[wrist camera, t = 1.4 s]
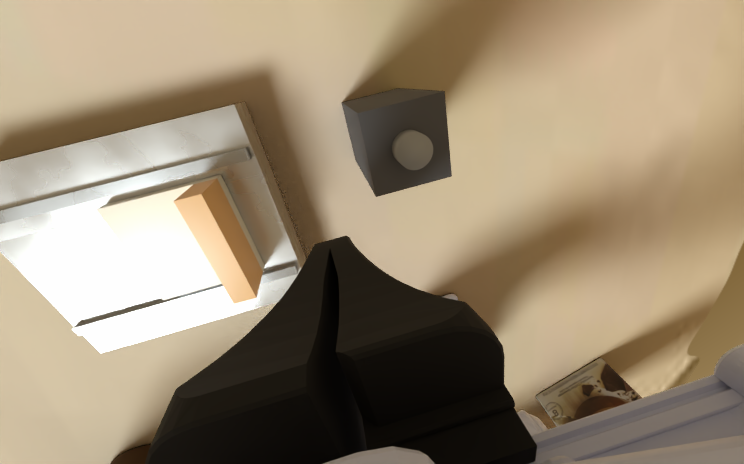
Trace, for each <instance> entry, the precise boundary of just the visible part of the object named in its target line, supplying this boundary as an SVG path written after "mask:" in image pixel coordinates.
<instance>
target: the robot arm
mask: <svg viewBox="0 0 744 464" xmlns="http://www.w3.org/2000/svg"><path fill="white" fill-rule="evenodd" d="M514 407H515V403H514V400H513V398H512V396H511V395H510V393H509V391H508V390H507V388H506V387H505V385H504V352H503V347H502V344H501V343H500V341H499V340H498V338H497V337H496V335H495V334H494V332H493V331H492V330H491V328H490V327H489V326H488V325H487V324H486V323H485V322H484V321H483V319H482V318H481V317H480V316H479V315H478V314H477V313H476V312H475V311H474V310H473V309H472V308H471V307H470V306H469V305H468V304H467V303H465V302H462V301H458V298H457V296H456V295H455V294H449V295H446V296H442V297H440V296H436V295H433V294H430V293H427V292H424V291H421V290H418V289H415V288H413V287H411V286H409V285H406V284H404V283H402V282H400V281H398V280H396V279H395V278H393V277H391V276H390V275H388V274H386V273H385V272H383V271H382V270H381V269H379V268H378V267H377V266H375V265H374V264H373V263H372V262H370V261H369V260H368V259H367V258H366V257H365V256H364V255H363V254H362V253H361V252H360V251H359V250H358V249H357V248H356V247H355V246H354V244H353V243H352V241H351V240H350V238H349V237H348V236H343V237H340V238H336V239H333V240H329V241H325V242H322V243H318V244H315V245H314V247H313V249H312V250H311V252H310V254H309V256H308V258H307V260H306V261H305V263H304V265H303V267H302V268H301V270H300V272H299V274H298V275H297V277H296V278H295V280H294V281H293V283H292V284H291V286H290V287H289V289H288V290H287V291H286V293H285V294H284V295H283V297H282V298H281V299H280V300H279V302H278V303H277V304H276V305H275V306H274V307H273V309H272V310H271V311H270V312H269V313H268V314H267V315H266V316H265V317H264V318H263V319H262V320H261V321H260V322H259V323H258V324H257V325H256V326H255V327H254V328H253V329H252V330H251V331H250V332H249V333H248V334H247V335H246V336H245V337H244V338H242V339H241V340H240V341H239V342H238V343H237V344H236V345H234V346H233V347H232V348H231V349H230V350H228V351H227V352H226V353H225V354H223V355H222V356H221V357H220V358H218V359H217V360H216V361H214V362H213V363H212V364H210V365H209V366H208V367H206V368H205V369H204V370H202V371H201V372H199V373H198V374H197V375H195V376H194V377H192V378H191V379H190V380H188V381H187V382H185V383H184V384H183V385H181V386H180V387H178V388H177V389H176V391H175V393H174V395H173V397H172V399H171V401H170V404H169V406H168V408H167V410H166V413H165V415H164V417H163V419H162V421H161V424H160V426H159V428H158V430H157V433H156V435H155V437H154V439H153V442H152V444H151V446H150V448H149V451H148V454H147V458H146V461H145V464H744V344H742V345H739V346H736V347H734V348H732V349H730V350H729V351H728V352H726V353H725V354H724V355H723V356H722V357H721V358H720V359H719V361H718V363H717V364H716V367H715V369H714V375H711V376H708V377H705V378H702V379H699V380H696V381H693V382H690V383H687V384H684V385H681V386H678V387H675V388H672V389H669V390H666V391H663V392H660V393H657V394H654V395H651V396H647V397H644V398H641V399H638V400H635V401H632V402H629V403H626V404H623V405H620V406H617V407H614V408H611V409H608V410H605V411H602V412H599V413H596V414H593V415H590V416H587V417H584V418H581V419H578V420H575V421H572V422H569V423H566V424H563V425H560V426H557V427H554V428H551V429H547V427H546V426H545V425H544V424H543V422H542V421H541V420H540V419H539V418H538V417H536V416H533V415H531V414H528V413H527V412H526V411H524V410H521V411H519V412H516V411H515V409H514Z"/></svg>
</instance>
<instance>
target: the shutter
mask: <svg viewBox="0 0 744 464" xmlns="http://www.w3.org/2000/svg"><path fill="white" fill-rule="evenodd" d="M96 210H97V212H98V213H99V214H100V216H101V217H102V218H103V220H104V221H105V222H106V224H107V225H108V226H109V228H110V229H111V231H112V232H113V233H114V235H115V236H116V237H117V239H118V240H119V241H120V243H121V244H122V245H123V247H124V248H125V249H126V251H127V252H128V254H129V255H130V256H131V258H132V259H133V260H134V262H135V263H136V264H137V266H138V267H139V268H140V270H141V271H142V272H143V274H144V275H145V277H146V278H147V279H148V281H149V282H150V283H151V285H152V286H153V287H154V289H155V290H156V291H157V293H158V294H159V296H160V297H161V298H162V300H166V299H169V298H173V297H177V296H180V295H184V294H187V293H191V292H194V291H198V290H201V289H205V288H209V287H212V286H216V285H219V284H222V285H223V286H224V288H225V290H226V292H227V293H228V295H229V297H230V298H231V300H232V302H233V303H234V304H237V303H240V302H244V301H247V300H251V299H254V298H257V294H258V290H259V286H260V282H261V278H262V275H263V271H264V267H265V265H264V263H263V261H262V259H261V257H260V255H259V253H258V251H257V248H256V246H255V244H254V242H253V240H252V238H251V236H250V234H249V232H248V230H247V228H246V226H245V223H244V221H243V219H242V217H241V215H240V213H239V211H238V209H237V207H236V205H235V203H234V201H233V198H232V196H231V194H230V192H229V190H228V188H227V186H226V184H225V182H224V180H223V178H222V176H221V175H217V176H213V177H209V178H205V179H201V180H198V181H194V182H190V183H186V184H182V185H178V186H174V187H171V188H167V189H163V190H159V191H155V192H151V193H147V194H143V195H140V196H136V197H132V198H128V199H124V200H120V201H116V202H112V203H109V204H105V205H103V206H101V207H100V208H98V209H96Z"/></svg>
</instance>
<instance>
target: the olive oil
mask: <svg viewBox="0 0 744 464" xmlns="http://www.w3.org/2000/svg"><path fill="white" fill-rule="evenodd" d="M150 446H151V445H145V446H141V447H137V448H134V449H131V450H129V451H127V452H125V453H123V454H121V455H119V456H118V457H117V458H115V459H114V460H113V461H112V462H111V464H145V461H146V458H147V454H148V451H149V448H150Z"/></svg>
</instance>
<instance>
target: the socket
mask: <svg viewBox="0 0 744 464" xmlns="http://www.w3.org/2000/svg"><path fill="white" fill-rule="evenodd" d="M217 175H221V176H222V178H223V180H224V182H225V184H226V186H227V188H228V190H229V192H230V194H231V196H232V198H233V201H234V203H235V205H236V207H237V209H238V211H239V213H240V215H241V217H242V219H243V221H244V223H245V226H246V228H247V230H248V232H249V234H250V236H251V238H252V240H253V242H254V244H255V246H256V248H257V251H258V253H259V255H260V257H261V259H262V261H263V263H264V265H265V267H264V271H263V275H262V278H261V282H260V286H259V290H258V294H257V298H254V299H251V300H247V301H244V302H240V303H237V304H234V303H233V302H232V300H231V298H230V297H229V295H228V293H227V292H226V290H225V288H224V286H223V285H222V284H219V285H216V286H212V287H209V288H205V289H201V290H198V291H194V292H191V293H187V294H184V295H180V296H177V297H173V298H169V299H166V300H162V298H161V297H160V296H159V294H158V293H157V291H156V290H155V289H154V287H153V286H152V285H151V283H150V282H149V281H148V279H147V278H146V277H145V275H144V274H143V272H142V271H141V270H140V268H139V267H138V266H137V264H136V263H135V262H134V260H133V259H132V258H131V256H130V255H129V254H128V252H127V251H126V249H125V248H124V247H123V245H122V244H121V243H120V241H119V240H118V239H117V237H116V236H115V235H114V233H113V232H112V231H111V229H110V228H109V226H108V225H107V224H106V222H105V221H104V220H103V218H102V217H101V216H100V214H99V213H98V212H97V210H96V209H98V208H100V207H101V206H103V205H105V204H109V203H112V202H116V201H120V200H124V199H128V198H132V197H136V196H140V195H143V194H147V193H151V192H155V191H159V190H163V189H167V188H171V187H174V186H178V185H182V184H186V183H190V182H194V181H198V180H201V179H205V178H209V177H213V176H217ZM0 252H1V253H2V254H3V255H4V256H5V257H6V258H7V259H8V260H9V261H10V262H11V263H12V264H13V265H14V266H15V267H16V268H17V269H18V270H19V271H20V272H21V273H22V274H23V275H24V276H25V277H26V278H27V279H28V280H29V281H30V282H31V283H32V284H33V285H34V286H35V287H36V288H37V289H38V290H39V291H40V292H41V293H42V294H43V295H44V296H45V297H46V298H47V299H48V300H49V301H50V302H51V303H52V304H53V305H54V306H55V307H56V308H57V309H58V310H59V311H60V312H61V314H62V315H63V316H64V317H65V318H66V319H67V320H68V321H69V322H70V323H71V324H72V325H73V326H74V327H73V328H72V330H73V331H74V332H75V333H76V334H77V335H78V336H80V335H83V336H84V337H85V338H86V339H87V340H88V341H89V342H90V343H91V344H92V345H93V346H94V347H95V348H96V349H97V350H98V351H99V352H100V353H103V352H107V351H110V350H114V349H117V348H121V347H124V346H128V345H131V344H134V343H138V342H141V341H145V340H148V339H152V338H155V337H159V336H162V335H166V334H169V333H173V332H176V331H180V330H183V329H187V328H190V327H194V326H197V325H201V324H204V323H207V322H211V321H214V320H218V319H221V318H225V317H228V316H232V315H235V314H239V313H242V312H246V311H249V310H253V309H256V308H260V307H263V306H267V305H270V304H273V303H277V302H279V300H280V299H281V298H282V297H283V295H284V294H285V293H286V291H287V290H288V289H289V287H290V286H291V284H292V283H293V281H294V280H295V278H296V277H297V275H298V274H299V272H300V270H301V268H302V267H303V265H304V263H305V261H306V260H307V259H306V257H305V254H304V251H303V249H302V246H301V244H300V241H299V239H298V236H297V233H296V231H295V228H294V226H293V223H292V221H291V218H290V215H289V213H288V210H287V208H286V205H285V203H284V200H283V198H282V195H281V192H280V190H279V187H278V185H277V182H276V180H275V177H274V174H273V172H272V169H271V167H270V164H269V162H268V159H267V156H266V154H265V151H264V149H263V146H262V144H261V141H260V138H259V136H258V133H257V131H256V128H255V126H254V123H253V121H252V118H251V115H250V113H249V110H248V108H247V105H246V103H245V102H241V103H237V104H233V105H229V106H225V107H221V108H217V109H213V110H208V111H204V112H200V113H196V114H192V115H188V116H184V117H180V118H176V119H172V120H168V121H164V122H159V123H155V124H151V125H147V126H143V127H139V128H135V129H131V130H127V131H123V132H119V133H115V134H110V135H106V136H102V137H98V138H94V139H90V140H86V141H82V142H78V143H74V144H70V145H66V146H61V147H57V148H53V149H49V150H45V151H41V152H37V153H33V154H29V155H25V156H21V157H17V158H12V159H8V160H4V161H0Z"/></svg>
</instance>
